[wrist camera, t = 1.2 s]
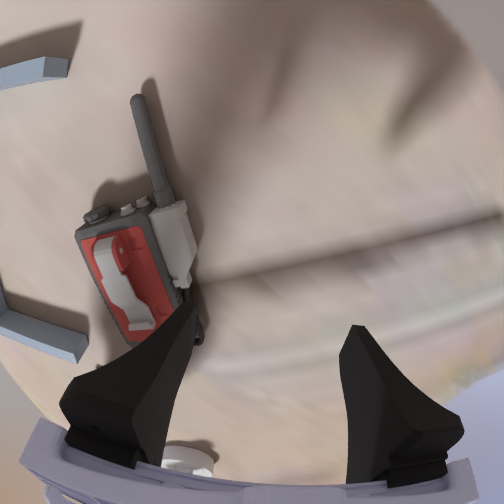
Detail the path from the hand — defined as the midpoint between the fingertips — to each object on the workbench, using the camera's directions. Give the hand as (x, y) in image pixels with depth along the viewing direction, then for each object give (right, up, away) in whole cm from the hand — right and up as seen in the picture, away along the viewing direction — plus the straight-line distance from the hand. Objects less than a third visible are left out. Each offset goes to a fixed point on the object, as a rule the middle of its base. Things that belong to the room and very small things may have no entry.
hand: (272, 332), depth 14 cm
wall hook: (-11, -28, +25) cm, 40 cm away
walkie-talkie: (-9, +5, +9) cm, 14 cm away
